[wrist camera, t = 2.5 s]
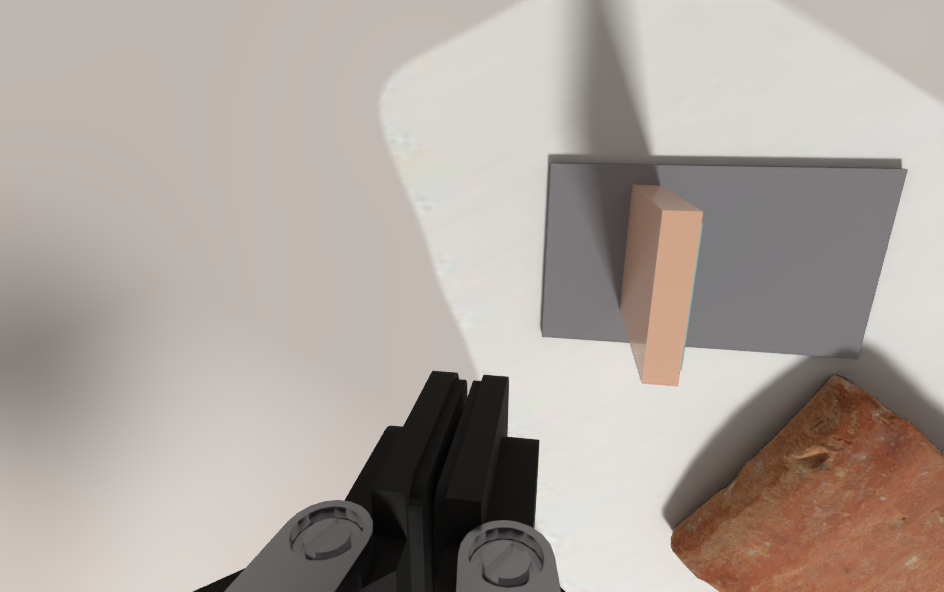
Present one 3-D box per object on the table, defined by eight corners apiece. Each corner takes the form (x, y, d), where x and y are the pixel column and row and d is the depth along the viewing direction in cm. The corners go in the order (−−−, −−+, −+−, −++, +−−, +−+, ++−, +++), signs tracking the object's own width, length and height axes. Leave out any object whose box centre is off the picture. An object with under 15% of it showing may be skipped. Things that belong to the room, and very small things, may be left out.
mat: (902, 168, 25) (907, 169, 25) (853, 355, 28) (857, 358, 28) (550, 162, 28) (550, 163, 27) (542, 334, 31) (541, 336, 31)
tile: (663, 185, 27) (708, 211, 18) (648, 311, 29) (682, 386, 21) (632, 184, 27) (662, 210, 19) (619, 309, 29) (641, 383, 21)
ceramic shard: (881, 729, 30) (661, 561, 31) (849, 629, 35) (665, 491, 37) (1167, 614, 23) (865, 406, 24) (1070, 512, 28) (830, 349, 30)
